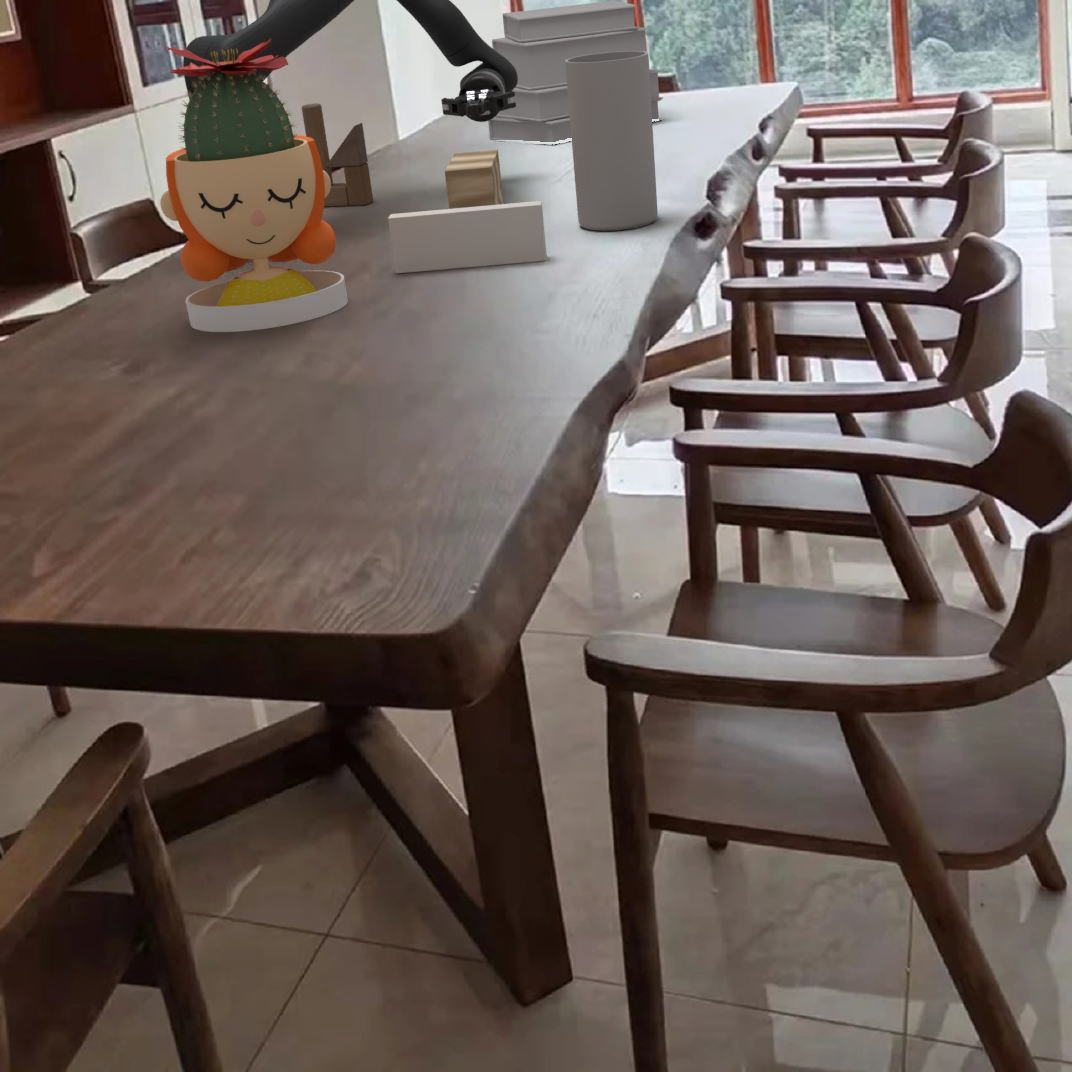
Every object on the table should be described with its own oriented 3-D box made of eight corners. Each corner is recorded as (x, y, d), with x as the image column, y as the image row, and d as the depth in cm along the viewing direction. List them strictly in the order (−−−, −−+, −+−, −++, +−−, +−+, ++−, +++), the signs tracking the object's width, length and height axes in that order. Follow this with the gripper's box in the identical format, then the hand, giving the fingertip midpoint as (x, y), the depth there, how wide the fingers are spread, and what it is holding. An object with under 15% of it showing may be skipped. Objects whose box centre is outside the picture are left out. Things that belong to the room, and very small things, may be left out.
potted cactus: (359, 312, 184) (317, 33, 170) (189, 341, 179) (131, 56, 165) (333, 279, 203) (293, 25, 189) (179, 304, 198) (126, 45, 184)
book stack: (474, 140, 314) (460, 19, 303) (589, 115, 333) (581, 0, 322) (560, 148, 292) (549, 18, 281) (679, 121, 311) (672, -2, 300)
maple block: (463, 228, 228) (454, 153, 223) (505, 224, 227) (497, 149, 222) (454, 250, 213) (444, 171, 208) (499, 247, 212) (491, 167, 208)
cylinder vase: (615, 211, 228) (604, 51, 217) (674, 217, 219) (665, 50, 209) (562, 228, 220) (548, 62, 210) (621, 235, 211) (609, 62, 201)
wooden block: (366, 205, 254) (351, 103, 246) (312, 207, 257) (296, 107, 249) (374, 201, 257) (359, 100, 249) (321, 203, 260) (305, 103, 252)
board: (398, 268, 205) (390, 214, 202) (546, 255, 204) (541, 200, 200) (395, 273, 203) (387, 218, 199) (546, 260, 201) (540, 204, 198)
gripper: (441, 77, 238) (430, 91, 223) (518, 68, 237) (512, 82, 222) (447, 122, 242) (437, 139, 226) (523, 114, 241) (518, 130, 225)
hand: (474, 110), depth 224 cm, fingers closed
